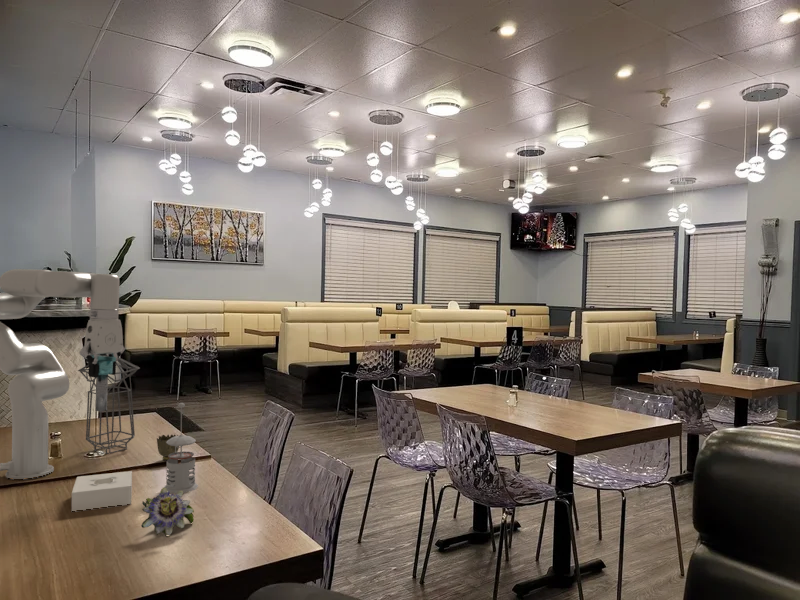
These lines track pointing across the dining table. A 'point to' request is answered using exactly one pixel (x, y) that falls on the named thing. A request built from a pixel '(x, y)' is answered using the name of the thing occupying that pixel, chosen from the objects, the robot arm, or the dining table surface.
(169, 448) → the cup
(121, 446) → the geometric lantern
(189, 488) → the french press
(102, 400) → the teal strapped cylinder
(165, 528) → the passion flower
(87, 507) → the block
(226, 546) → the dining table surface
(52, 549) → the dining table surface
